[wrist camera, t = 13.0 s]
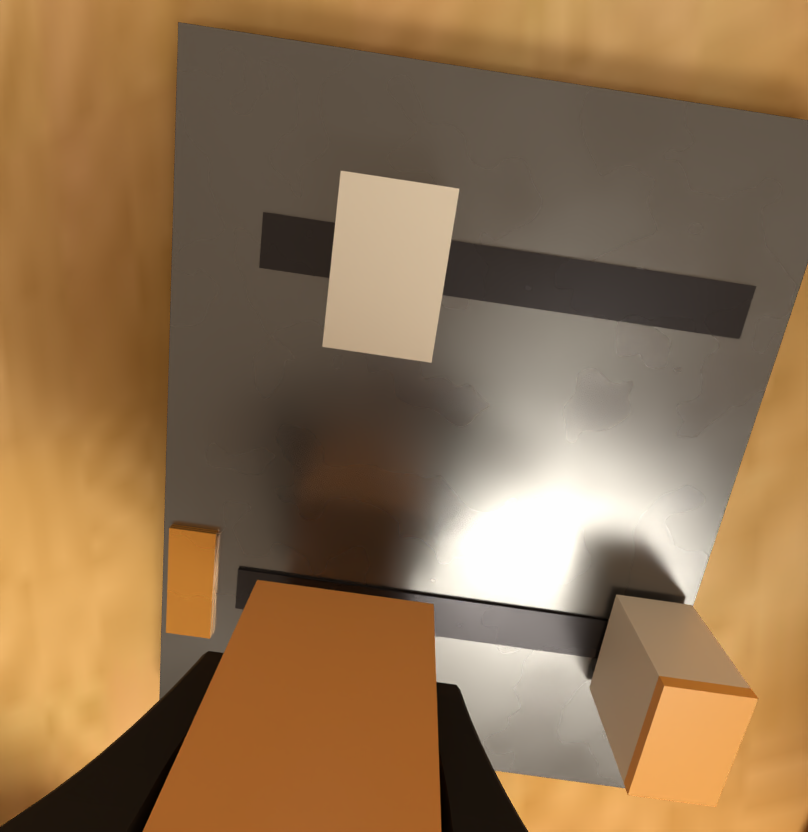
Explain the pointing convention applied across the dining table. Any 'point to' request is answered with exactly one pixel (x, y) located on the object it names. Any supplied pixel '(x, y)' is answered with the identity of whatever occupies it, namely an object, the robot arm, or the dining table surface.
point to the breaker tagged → (669, 701)
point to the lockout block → (313, 721)
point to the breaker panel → (468, 362)
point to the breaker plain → (388, 265)
